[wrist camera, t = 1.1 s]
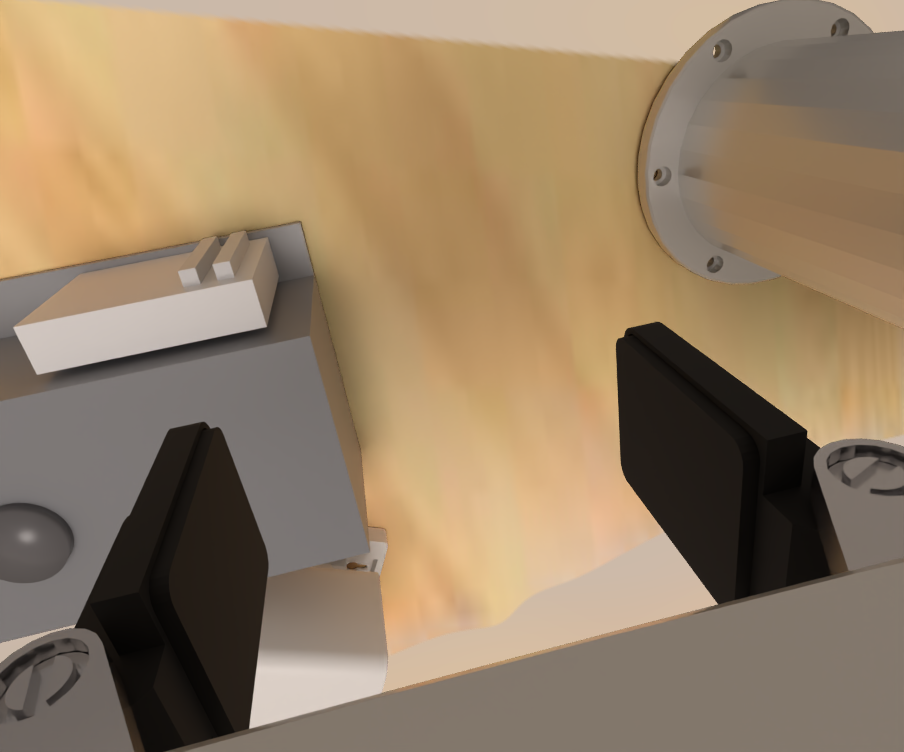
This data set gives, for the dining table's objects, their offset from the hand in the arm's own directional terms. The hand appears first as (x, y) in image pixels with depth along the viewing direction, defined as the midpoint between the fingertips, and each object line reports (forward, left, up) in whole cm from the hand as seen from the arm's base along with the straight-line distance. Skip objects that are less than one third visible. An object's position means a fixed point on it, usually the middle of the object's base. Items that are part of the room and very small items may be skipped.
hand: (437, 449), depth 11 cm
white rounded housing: (+7, +18, -20) cm, 28 cm away
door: (+8, 0, -19) cm, 21 cm away
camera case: (+10, +6, -20) cm, 23 cm away
